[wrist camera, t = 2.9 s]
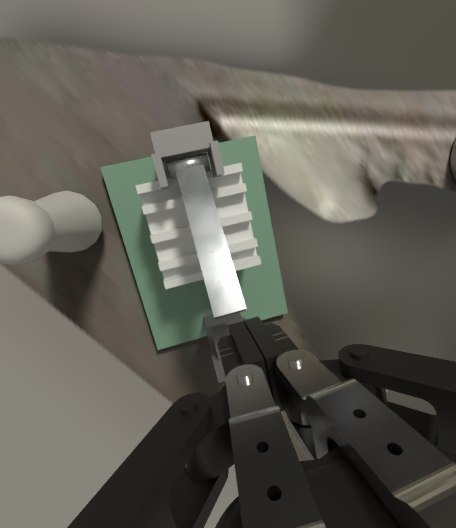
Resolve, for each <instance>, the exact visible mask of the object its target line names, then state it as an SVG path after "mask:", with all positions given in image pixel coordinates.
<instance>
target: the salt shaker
mask: <svg viewBox="0 0 456 528" xmlns="http://www.w3.org/2000/svg"><path fill="white" fill-rule="evenodd" d="M101 231H102V217H101V215H100V213H99V211H98V209H97V207H96V205H95V204H94V203H92V202H91V201H90V200H89V199H87V198H86V197H85V196H83V195H81V194H77V193H74V192H71V191H63V192H58V193H53V194H50V195H48V196H46V197H43V198H41V199H38V200H36V201H34V202H33V201H31V200H27V199H23V198H19V197H15V196H4V197H0V263H5V264H10V265H13V264H21V263H27V262H33V261H35V260H37V259H38V258H40V257H41V256H42V255H44V254H45V253H46V252H48V251H55V252H77V251H82V250H86V249H87V248H88V247H90V246H91V245H92V244H94V243H95V242H96V241H97V239H98V237H99V235H100V233H101Z"/></svg>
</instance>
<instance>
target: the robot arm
mask: <svg viewBox="0 0 456 528" xmlns="http://www.w3.org/2000/svg"><path fill="white" fill-rule="evenodd" d="M451 171H452V174H453V177H454V179H455V181H456V140H455V143H454V145H453V148H452V153H451ZM228 329H229V333H230V335H228V336H225V337H221V338H220V339H219V341H218V344H217V346H218V350H219V354H220V358H221V361H222V365H223V369H224V373H225V377H226V383H225V385H224V387H223V388H222V390H221V391H220V392H218V393H217V394H216V395H214V396H213V397H211V398H208V397H207V396H206V395H204V394H201V393H192V394H188V395H185V396H183V397H181V398H180V399H178V400H177V401H176V402H175V403H174V404H173V405H172V406H171V407H170V408H169V409H168V411H167V412H166V413H165V414H164V416H163V417H162V418H161V419H160V420H159V421H158V422H157V424H156V425H155V426H154V427H153V428H152V429H151V431H150V432H149V433H148V434H147V435H146V436H145V438H144V439H143V440H142V441H141V442H140V443H139V444H138V446H137V447H136V448H135V449H134V450H133V452H132V453H131V454H130V455H129V456H128V457H127V459H126V460H125V461H124V462H123V463H122V464H121V465H120V467H119V468H118V469H117V470H116V471H115V472H114V474H113V475H112V476H111V477H110V478H109V479H108V481H107V482H106V483H105V484H104V485H103V487H102V488H101V489H100V490H99V491H98V492H97V494H96V495H95V496H94V497H93V498H92V499H91V501H90V502H89V503H88V504H87V505H86V506H85V508H84V509H83V510H82V511H81V512H80V513H79V515H78V516H77V517H76V518H75V519H74V520H73V522H72V523H71V524H70V525H69V526H68V528H204V526H205V524H206V522H207V519H208V518H209V516H210V513H211V511H212V509H213V507H214V505H215V503H216V501H217V499H218V497H219V495H220V493H221V491H222V488H223V487H224V485H225V482H226V480H227V478H228V468H230V467H231V466H232V465H234V464H235V472H236V480H237V487H238V494H239V496H238V497H237V498H236V499H235V500H234V501H233V502H232V503H231V504H230V505H229V506H228V508H227V509H226V510H225V512H224V513H223V515H222V516H221V518H220V520H219V522H218V523H217V525H216V527H215V528H456V362H454V361H448V360H443V359H438V358H433V357H427V356H422V355H417V354H412V353H406V352H401V351H396V350H391V349H385V348H380V347H375V346H370V345H364V344H352V345H348V346H345V347H343V348H342V349H341V350H340V351H339V353H338V356H339V359H336V360H322V361H321V360H318V359H316V358H315V357H314V356H313V355H312V354H311V353H309V352H307V351H304V350H299V349H298V348H297V347H296V345H295V344H294V343H293V342H292V341H291V339H290V338H289V337H288V336H287V335H286V333H284V331H283V330H282V329H281V327H280V326H278V325H275V324H273V323H269V324H266V325H264V324H263V322H262V321H261V319H260V318H259V317H258V316H257V317H253V318H250V319H246V320H243V321H239V322H236V323H232V324H229V325H228ZM386 389H389V390H393V391H396V392H399V393H403V394H407V395H410V396H414V397H418V398H421V399H424V400H426V401H427V402H429V403H430V404H431V405H433V407H434V408H435V410H436V413H437V415H430V414H427V413H424V412H421V411H417V410H414V409H411V408H407V407H404V406H401V405H398V404H394V403H391V402H388V401H387V399H386ZM283 410H285V412H286V414H287V418H288V423H289V427H290V429H291V431H292V432H293V434H294V436H295V437H296V439H297V441H298V442H299V444H300V446H301V447H302V449H303V451H304V452H305V454H306V455H307V457H308V459H309V460H308V461H300V460H299V457H298V455H297V452H296V450H295V447H294V444H293V442H292V439H291V437H290V434H289V431H288V429H287V426H286V424H285V421H284V418H283V416H282V413H281V411H283Z"/></svg>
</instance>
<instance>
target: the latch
mask: <svg viewBox="0 0 456 528" xmlns="http://www.w3.org/2000/svg"><path fill="white" fill-rule="evenodd" d="M203 318H204V322H205V327H206V332H207V336H208V341H209V346H210V350H211V355H212V360H213V364H214V368H215V372H216V375H217V379H218V383H220V382H224V381H226V377H225V373H224V369H223V365H222V361H221V358H220V354H219V350H218V346H217V344H218V341H219V339H220V338H221V337H225V336H228V335H230V333H229V329H228V325H229V324H232V323H236V322H239V321H243V320H246V319H245V317H244V318H242V316H241V315H240V313H235V314H232V315H228V316H225V317H221V318H218V319H214V316H213V315H209V316H206V317H203Z"/></svg>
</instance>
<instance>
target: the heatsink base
mask: <svg viewBox="0 0 456 528" xmlns="http://www.w3.org/2000/svg"><path fill="white" fill-rule="evenodd" d="M150 134H151V138H152V142H153V146H154V149H155V153H154V154H151V155H152V157H148V158H143V159H138V160H133V161H129V162H124V163H119V164H114V165H109V166H104V167H100V168H101V171H102V174H103V177H104V180H105V184H106V187H107V190H108V193H109V196H110V200H111V203H112V206H113V209H114V212H115V215H116V219H117V222H118V225H119V228H120V231H121V235H122V238H123V241H124V244H125V247H126V250H127V254H128V257H129V260H130V263H131V266H132V269H133V273H134V276H135V279H136V282H137V285H138V289H139V292H140V295H141V298H142V301H143V304H144V308H145V311H146V314H147V317H148V320H149V324H150V327H151V330H152V333H153V336H154V339H155V343H156V346H157V349H158V350H160V349H164V348H167V347H171V346H174V345H178V344H181V343H184V342H188V341H191V340H195V339H198V338H202V337H205V336H207V332H206V327H205V322H204V318H203V317H206V316H209V315H213V313H212V309H211V305H210V301H209V297H208V294H207V290H206V286H205V282H204V278H203V275H202V271H201V267H200V263H199V259H198V256H197V252H196V248H195V244H194V240H193V237H192V233H191V229H190V225H189V221H188V218H187V214H186V210H185V206H184V203H183V199H182V195H181V191H180V187H179V184H178V180H177V179H172V180H171V178H170V174H169V171H168V167H167V163H166V161H170V160H174V159H179V158H184V157H189V156H194V155H198V154H203V153H207V155H208V158H209V162H210V171H209V172H206V175H207V178H208V182H209V185H210V188H211V192H212V195H213V198H214V202H215V205H216V208H217V211H218V215H219V218H220V221H221V225H222V228H223V231H224V235H225V238H226V241H227V245H228V248H229V251H230V255H231V258H232V261H233V265H234V268H235V271H236V275H237V278H238V281H239V285H240V288H241V291H242V295H243V298H244V301H245V305H246V308H247V309H246V310H245V311H243V312H239V313H240V315H241V316H242V318H244V317H245V319H250V318H253V317H257V316H258V317H259V318H260V319H261V320H265V319H268V318H272V317H275V316H279V315H282V314H286V313H288V311H287V306H286V301H285V295H284V290H283V284H282V279H281V273H280V268H279V263H278V257H277V252H276V246H275V241H274V235H273V230H272V224H271V219H270V213H269V208H268V202H267V197H266V192H265V186H264V181H263V175H262V170H261V164H260V159H259V153H258V148H257V143H256V137H255V136H251V137H246V138H241V139H236V140H231V141H226V142H221V143H218V141H213V138H212V133H211V129H210V124H209V121H207V122H202V123H196V124H191V125H186V126H181V127H176V128H171V129H166V130H160V131H155V132H150Z"/></svg>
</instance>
